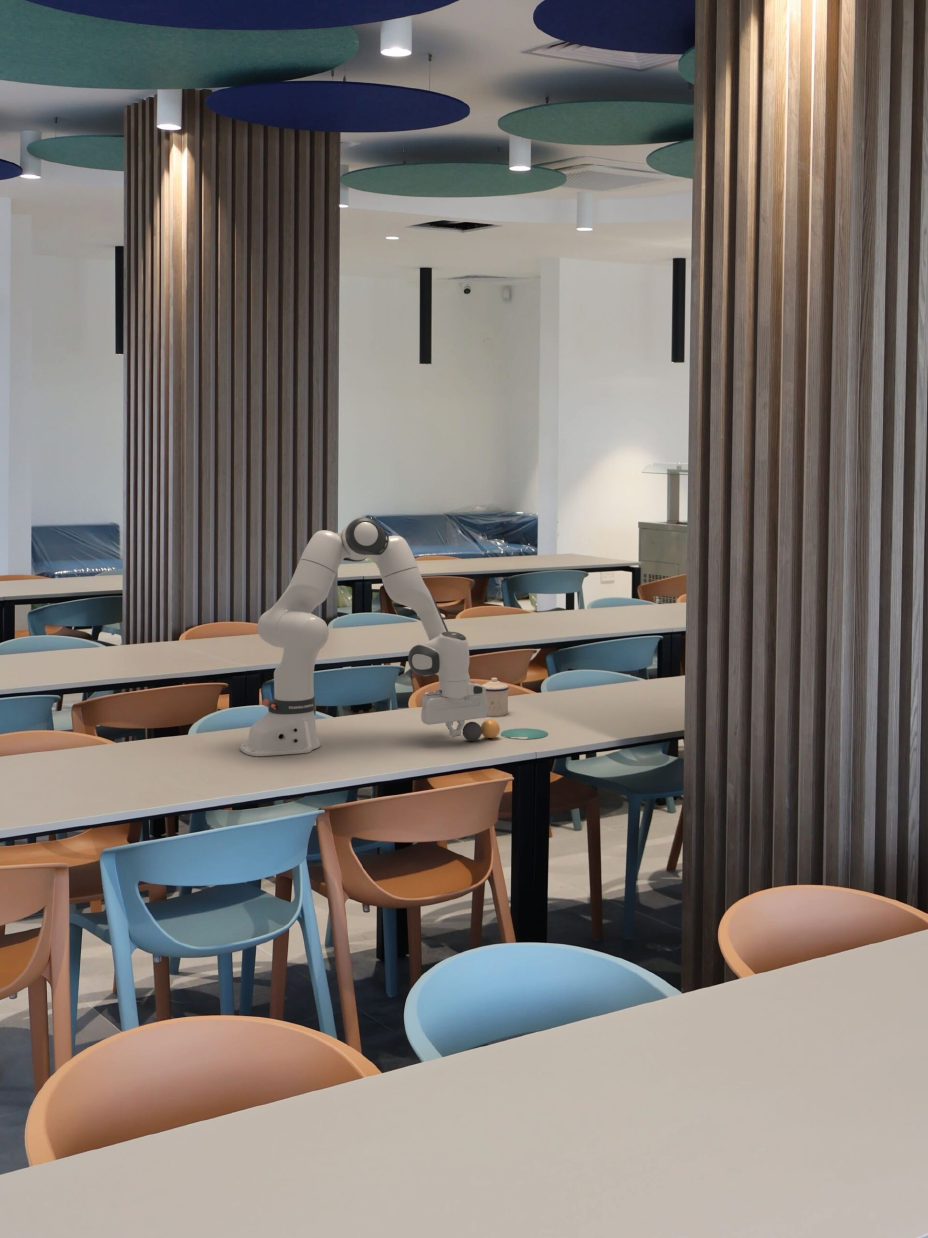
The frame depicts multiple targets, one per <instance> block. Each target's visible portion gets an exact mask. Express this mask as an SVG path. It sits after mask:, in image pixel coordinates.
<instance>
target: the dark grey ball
mask: <svg viewBox="0 0 928 1238" xmlns="http://www.w3.org/2000/svg"><path fill="white" fill-rule="evenodd" d="M461 733H462V735H463V737H464V739H466V740H467V741H469V742H474V741H475V742H476V741H477V740H479V739H480V737H481V736H482V729H481V724H479V723H477V722H475V721H469V722H466V724H464V726H463V728H462V730H461Z"/></svg>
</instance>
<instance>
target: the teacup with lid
mask: <svg viewBox="0 0 928 1238" xmlns="http://www.w3.org/2000/svg"><path fill="white" fill-rule="evenodd" d="M481 685H482V686H484V687H485V688H486V692H485V693H484V694H485V695H486V697H487V700H488V715H487V717H493V718H494V717H496V718H497V717H504V716H506V715H508V713H509V685H508V684H506V683H503V682H502V681H500V680H498V678H497V677H491V679H490V680H489V681H487V682H485V683H484V684H481Z"/></svg>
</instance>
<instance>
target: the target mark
mask: <svg viewBox="0 0 928 1238" xmlns="http://www.w3.org/2000/svg"><path fill="white" fill-rule="evenodd" d="M500 735H501V737H503V736H505V737H504V738H506V737H528V738H527V739H526V740H535V739H534V738H539V739H543V738H547V736H549V733H548V732H547V731H546V730H542V729H538V728H527V727H526V728H521V727H520V728H511V729H505V730H502V731H501V732H500ZM542 737H543V738H542Z"/></svg>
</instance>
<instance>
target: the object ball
mask: <svg viewBox="0 0 928 1238" xmlns="http://www.w3.org/2000/svg"><path fill="white" fill-rule="evenodd" d="M480 727H481V729H482V734H481V736H483V737H484V738H486V739H488V738H492V739H495V738H497V736H498V735H499V733H500V728H501V727H500V725H499V723H498V722H497V721H496V720H494V719H491V718H490V719H486V720H484V721H483V722H482V723H481V724H480Z"/></svg>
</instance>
